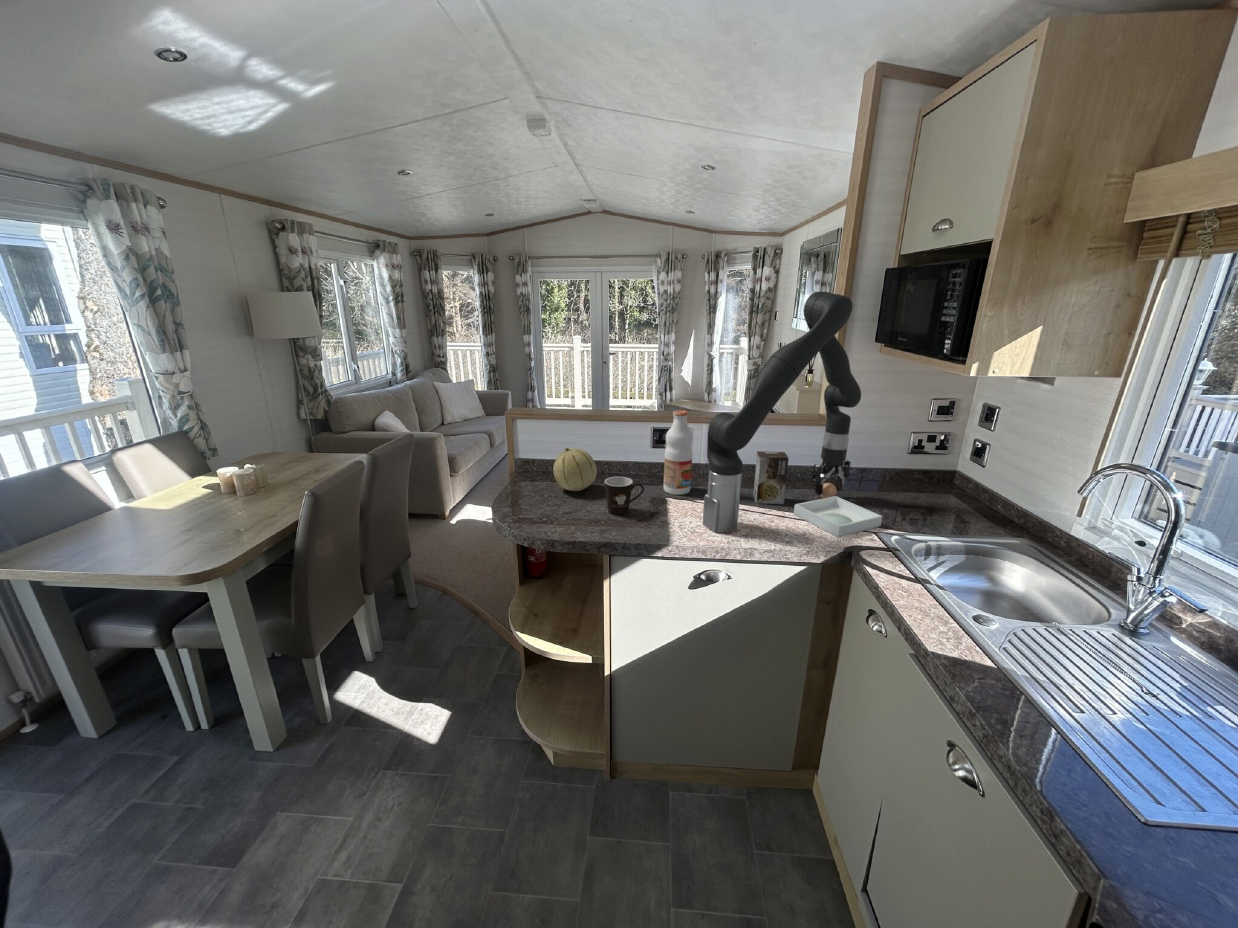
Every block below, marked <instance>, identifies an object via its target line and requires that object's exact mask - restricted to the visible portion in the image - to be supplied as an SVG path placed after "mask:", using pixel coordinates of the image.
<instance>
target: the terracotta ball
mask: <svg viewBox="0 0 1238 928" xmlns="http://www.w3.org/2000/svg"><path fill="white" fill-rule="evenodd" d="M837 492H838V491H837V489H836V487H835V484H833V483H830V482H824V483H823V492H822V495H819V496H820V497H821V499H824V498H829V497H833V496H836V495H837Z"/></svg>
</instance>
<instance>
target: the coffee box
mask: <svg viewBox="0 0 1238 928" xmlns="http://www.w3.org/2000/svg"><path fill="white" fill-rule="evenodd" d="M788 465H789V456H788V454H787V453H786V452H785V451H759V450H757V451H756V462H755V472H754V484H753V485H754V486H753V494H752V496H753V500H754V503H756V504H764V505H766V504H767V505H770V504H773V505H774V504H775V505H784V504H785V496H786V488H787V487H786V486H787V478H788V477H787V476H788V467H789V466H788Z"/></svg>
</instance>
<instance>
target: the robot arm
mask: <svg viewBox="0 0 1238 928" xmlns="http://www.w3.org/2000/svg"><path fill="white" fill-rule="evenodd" d="M853 307H854V305H853V301H852V299H851V298H850V297H849V296H846V295H843V294H839V293H833V292H827V291H820V290H819V291H815V292H813V293H812V294H810V295H809V296H808V297H807V299H806V301H805V303H804V305H803V316H804V320H805V323H806V325H807V328H808V329H809V330H808V331H807V332H806V333H805V334H803V335H802V336H800V337H798V338H797V339H794V340H793V341H790V342H788V343H787V344H785V345H783V346H782V347H780V348H779V349H777V350H776V351H775V352H773V354H772V355H771V356H770V357H769V358H768V359H767V360H766V362H765V363H764V364H763V366H761V368H760V369H759V371H758V372H757V375H756V378H755V381H754V385H753V389H752V392H751V395H750V397H749V399H748V400H747V402H746V403H745V404H744V405H743V407H742V408H741V410H739V412H738V413H736V414H732V413H729V412H719V413H718V414H716V415H714V417H712V419H711V421H710V423H709V425H708V428H707V429H708V430H707V449H706V450H707V451H706V452H707V453H706V455H707V461H708V465H709V468H708V483H707V493H706V494H704V498H703V499H704V501H703V511H702V512H703V516H702V525H703V526H705V527H706V528H707V529H709V530H710V531H712V532H713V533H718V532H719V533H731V532H735V531H737V529H738V524H739V513H740V503H741V501H740V500H741V490H742V481H743V480H742V479H743V470H744V465H743V461H742V459H741V457H740V455H739V453H738V451H741V450H742V449H743V448H745V447H746V446H747V445H748V444H749V442H750V441H751V440H752V439H753V437H754V436H755V435H756V433H757V431H758V429H759V428H760V426H761V425H762V423H763V421H764V420H766V418H767V416H768V415H769V413H770V412H771V411H772V409H773V408H774V407H775V405H777V404H778V402H779V400H780V399H781V398H782V397H783V395H785V393H786V392H787V391H788V390H789V389H790V388H791V386H792V385H793V384H794V383H795V381H796V380H798V378H799V377H800V375H801V374H802V373H803V371H804V369H806V367H808V365H809V364H810V363H811V362H812V360H813V359H814V358H815V356H817V355H818V353H819V355H820V358H821V363H822V365H823V369H824V374H825V379H826V381H827V383H828V385H827V386H826V388H825V389H824V393H823V400H824V407H825V414H826V415H825V416H826V423H825V431H824V435H823V438H822V439H823V440H822V447H821V453H820V459H821V460H822V462H821V464H817V463H815V464H814V465H813V468H812V475H811V480H810V481H811V482H813V483H815V489H814V490H815V494H817V495H818V496H820V495H822V492H823V484H825V483H826V481H827V480H829V478H830V477H833V476H835V478H836V479H835V482H834V486H835V487H836V489H837V492H840V491H842V488H843V483H844V481H845V480H846V479H849V478H850V477H849V476H850V471H851V469H850V468H851V461H850V460H848V459H847V453H848V446H849V439H850V437H849V435H850V428H851V421H852V420H851V419H852V418H851V416H850V415H849V414H847V413H845V412H842V411H841V410H840V407H842V408H855V407H856V406H857V405H859V403H860V401H861V399H862V391H861V388H860V385H859V383H858V381H857V380H856V377H854V375H853V374H852V370H851V365H850V364H851V363H850V360H849V356H848V354H847V352H846V350H845V349H844V347H843V345H842V344H841V343H840V341H839V339H838V338H837V337H836V335H837V334H838V333H839V331H841V329H842V328H843V327H844V326H845V325H846V323H847V322H848V320H849V319H850V317H851V315H852V312H853V309H854V308H853Z"/></svg>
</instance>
